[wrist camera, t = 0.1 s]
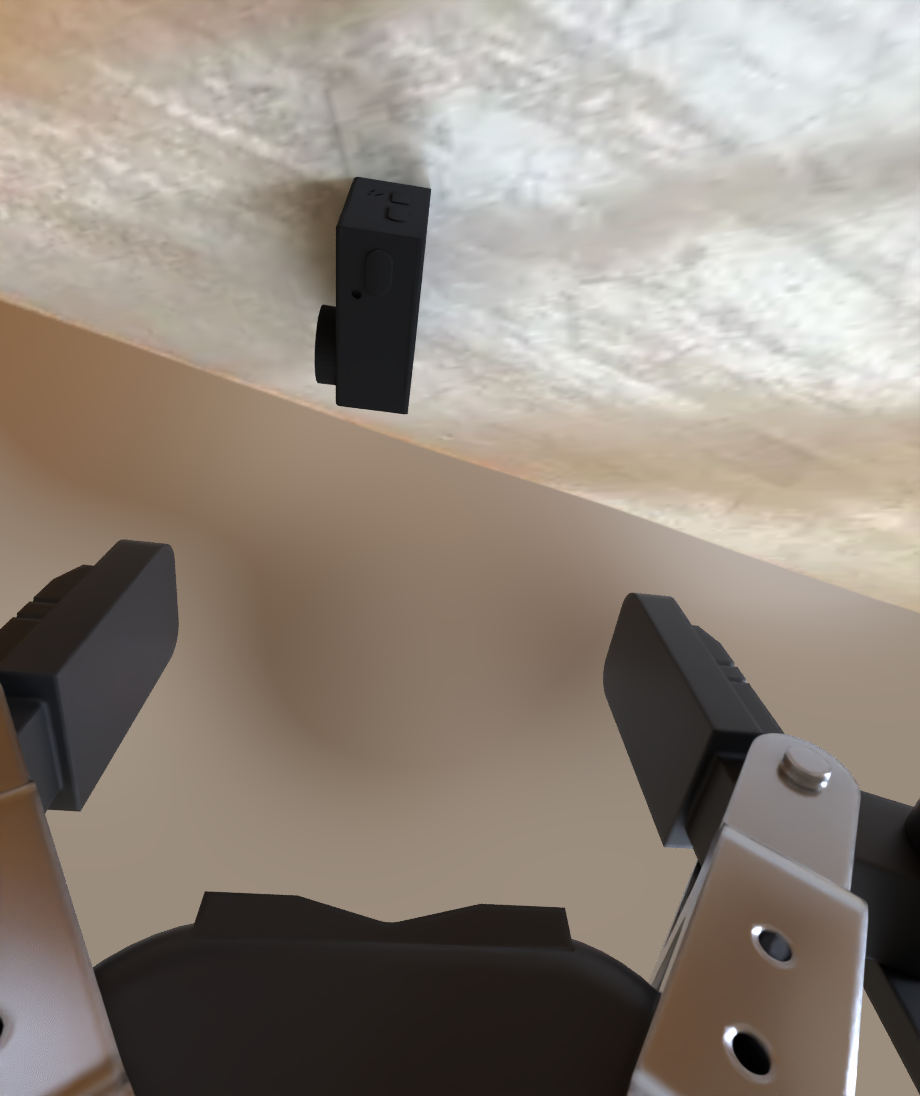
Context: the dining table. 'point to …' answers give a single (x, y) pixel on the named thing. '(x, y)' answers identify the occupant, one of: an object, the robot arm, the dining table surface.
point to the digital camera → (374, 296)
